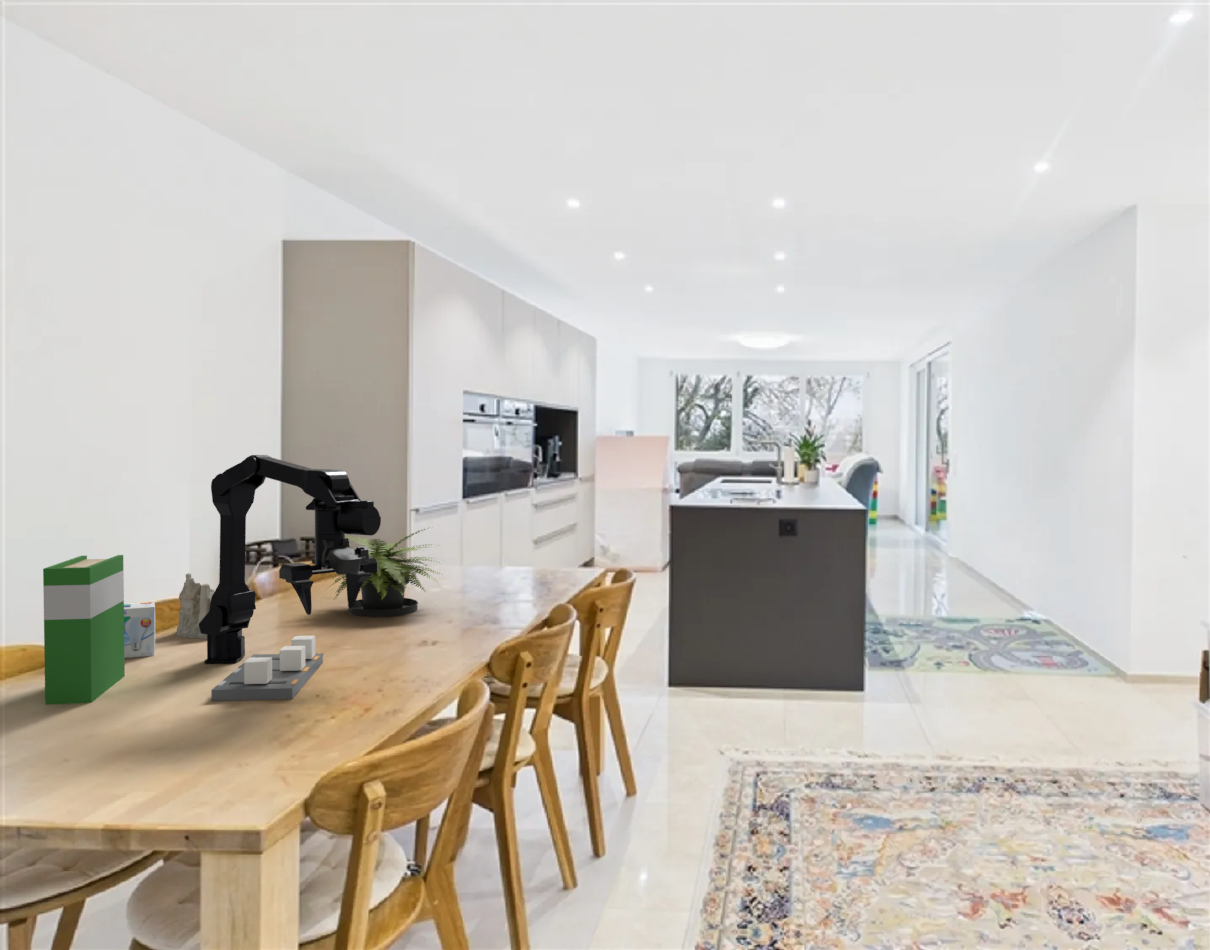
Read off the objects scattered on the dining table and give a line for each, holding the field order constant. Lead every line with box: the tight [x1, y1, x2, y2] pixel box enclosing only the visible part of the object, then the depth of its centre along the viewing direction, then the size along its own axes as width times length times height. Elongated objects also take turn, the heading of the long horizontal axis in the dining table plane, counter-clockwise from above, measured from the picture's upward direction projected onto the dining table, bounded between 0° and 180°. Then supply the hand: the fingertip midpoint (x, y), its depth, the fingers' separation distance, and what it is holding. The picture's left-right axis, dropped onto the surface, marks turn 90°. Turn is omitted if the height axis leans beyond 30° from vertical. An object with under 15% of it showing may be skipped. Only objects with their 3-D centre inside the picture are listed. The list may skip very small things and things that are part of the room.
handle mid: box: [279, 645, 305, 671], centre depth 170 cm, size 4×4×4 cm
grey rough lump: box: [175, 573, 215, 640], centre depth 213 cm, size 16×16×15 cm
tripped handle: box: [243, 657, 272, 684], centre depth 161 cm, size 4×4×4 cm
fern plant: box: [322, 525, 445, 618], centre depth 240 cm, size 37×39×24 cm
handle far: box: [290, 635, 316, 659], centre depth 179 cm, size 4×4×4 cm
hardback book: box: [42, 554, 126, 706], centre depth 162 cm, size 18×7×24 cm, turn 12°
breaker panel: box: [210, 652, 324, 702], centre depth 170 cm, size 14×26×2 cm, turn 6°
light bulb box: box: [124, 601, 156, 659], centre depth 189 cm, size 11×7×11 cm, turn 117°
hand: (330, 611), depth 174 cm, fingers open, 9 cm apart
